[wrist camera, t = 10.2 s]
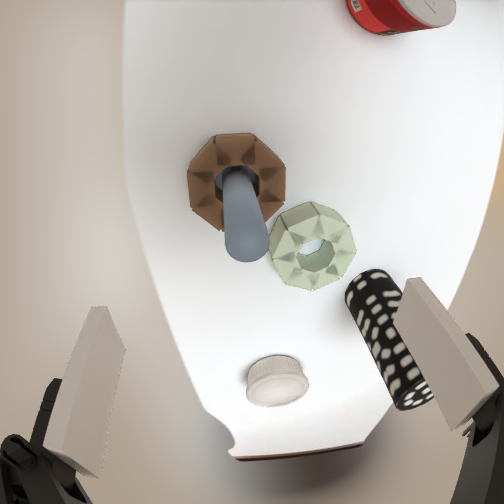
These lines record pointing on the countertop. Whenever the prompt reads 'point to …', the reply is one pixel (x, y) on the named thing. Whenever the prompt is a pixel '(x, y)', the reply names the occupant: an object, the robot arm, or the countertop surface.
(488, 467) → the robot arm
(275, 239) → the sage bead
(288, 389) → the ramekin
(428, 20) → the canned food
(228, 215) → the dowel
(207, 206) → the walnut bead
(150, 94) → the countertop surface
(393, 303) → the spotted tube
